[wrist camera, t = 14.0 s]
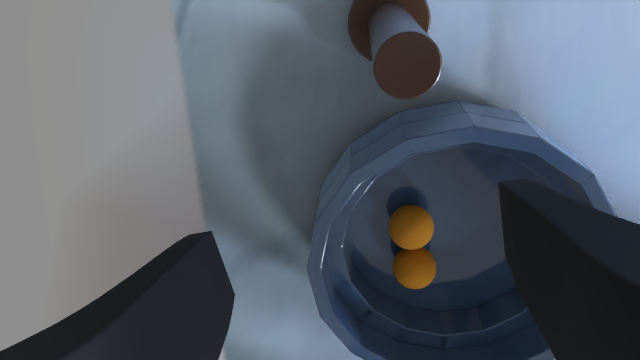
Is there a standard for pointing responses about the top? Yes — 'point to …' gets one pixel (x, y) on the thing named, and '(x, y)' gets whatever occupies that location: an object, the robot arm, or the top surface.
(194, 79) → the top surface
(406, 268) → the bead
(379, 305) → the bowl
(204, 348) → the robot arm
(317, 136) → the top surface
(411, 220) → the bead
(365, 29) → the stick
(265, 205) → the top surface
